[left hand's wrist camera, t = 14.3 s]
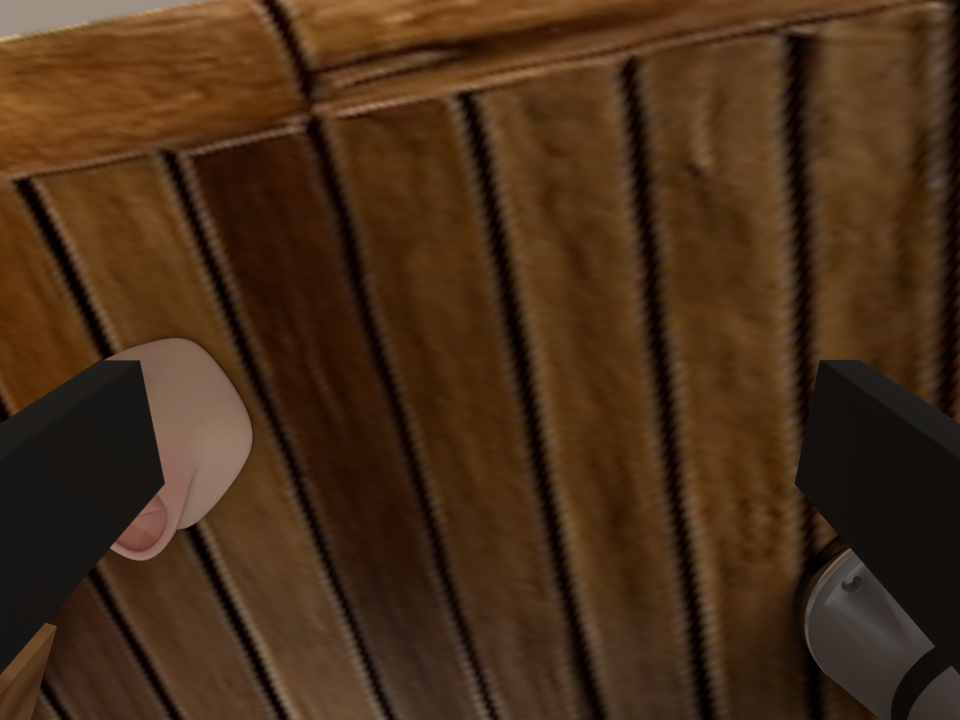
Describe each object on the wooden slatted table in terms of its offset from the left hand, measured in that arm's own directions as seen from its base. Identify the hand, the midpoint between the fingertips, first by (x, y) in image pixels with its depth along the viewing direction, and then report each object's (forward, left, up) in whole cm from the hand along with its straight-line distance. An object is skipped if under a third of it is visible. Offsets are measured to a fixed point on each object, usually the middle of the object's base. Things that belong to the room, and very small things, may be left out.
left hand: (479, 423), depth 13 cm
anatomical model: (-8, +23, -26) cm, 36 cm away
